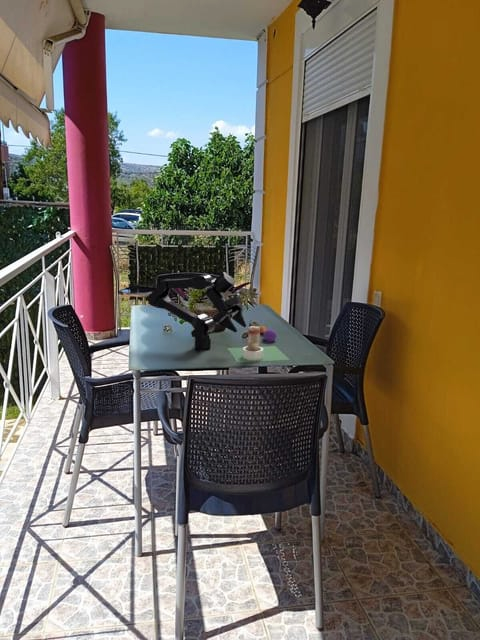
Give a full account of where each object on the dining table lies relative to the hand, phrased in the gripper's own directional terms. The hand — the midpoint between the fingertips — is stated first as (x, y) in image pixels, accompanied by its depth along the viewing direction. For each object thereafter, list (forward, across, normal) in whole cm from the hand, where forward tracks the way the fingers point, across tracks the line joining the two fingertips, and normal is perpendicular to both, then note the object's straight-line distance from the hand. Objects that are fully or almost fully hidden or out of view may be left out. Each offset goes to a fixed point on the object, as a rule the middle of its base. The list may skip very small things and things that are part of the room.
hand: (241, 329), depth 192 cm
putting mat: (+12, +5, +4) cm, 14 cm away
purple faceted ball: (+8, +32, +9) cm, 35 cm away
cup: (+12, 0, +4) cm, 12 cm away
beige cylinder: (+12, 0, +4) cm, 12 cm away
